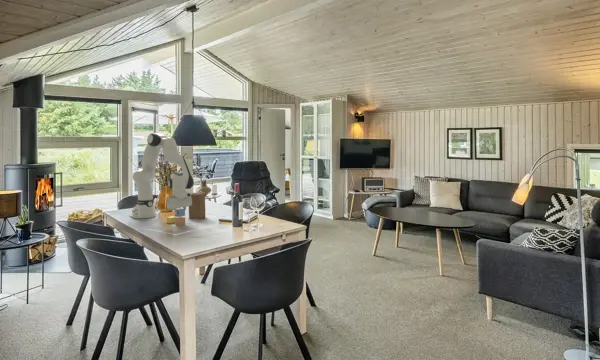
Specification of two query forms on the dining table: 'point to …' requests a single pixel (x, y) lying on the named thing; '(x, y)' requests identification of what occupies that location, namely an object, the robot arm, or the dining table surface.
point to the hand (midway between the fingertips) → (179, 213)
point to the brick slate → (180, 212)
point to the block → (197, 206)
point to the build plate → (180, 225)
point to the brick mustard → (171, 219)
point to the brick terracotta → (180, 221)
